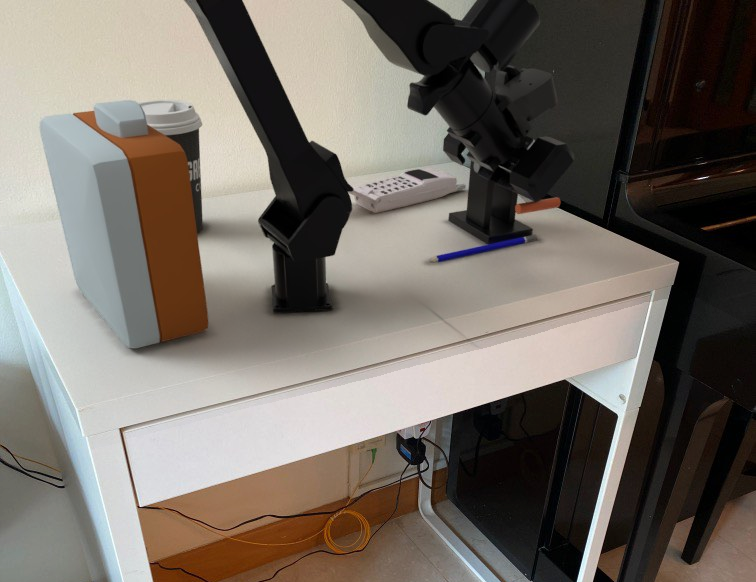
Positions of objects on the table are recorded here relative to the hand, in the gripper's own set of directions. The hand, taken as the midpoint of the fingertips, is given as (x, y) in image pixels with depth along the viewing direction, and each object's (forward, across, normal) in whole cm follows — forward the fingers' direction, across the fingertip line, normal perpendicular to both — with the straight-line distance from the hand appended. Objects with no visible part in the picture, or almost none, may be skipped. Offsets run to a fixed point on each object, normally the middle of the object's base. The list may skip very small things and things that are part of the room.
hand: (538, 197), depth 96 cm
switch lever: (+1, +5, +1) cm, 5 cm away
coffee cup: (-22, +27, +32) cm, 47 cm away
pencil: (+2, +3, +9) cm, 10 cm away
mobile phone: (0, +25, +10) cm, 27 cm away
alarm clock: (-30, +4, +40) cm, 49 cm away
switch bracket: (+5, +10, +5) cm, 12 cm away
